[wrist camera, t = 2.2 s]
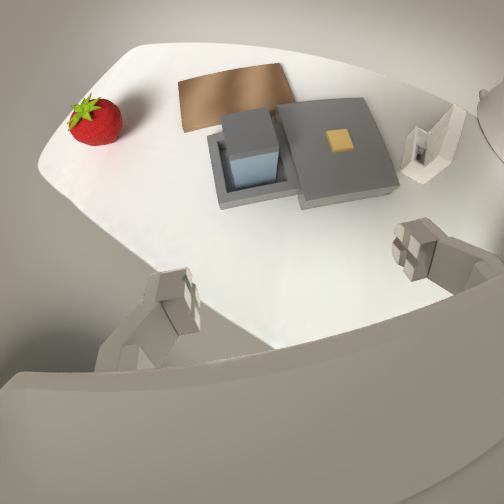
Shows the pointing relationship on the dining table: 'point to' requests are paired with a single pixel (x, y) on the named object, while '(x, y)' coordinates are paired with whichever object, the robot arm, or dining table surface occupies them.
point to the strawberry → (95, 122)
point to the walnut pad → (231, 94)
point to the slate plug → (251, 147)
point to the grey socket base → (318, 156)
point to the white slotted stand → (433, 146)
